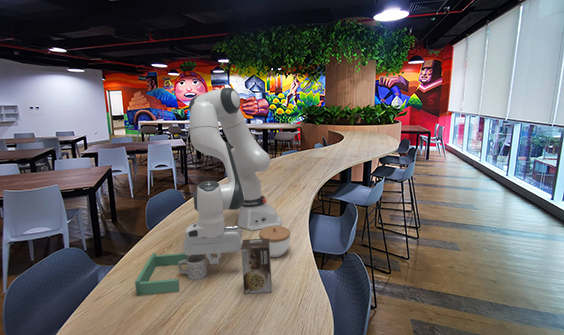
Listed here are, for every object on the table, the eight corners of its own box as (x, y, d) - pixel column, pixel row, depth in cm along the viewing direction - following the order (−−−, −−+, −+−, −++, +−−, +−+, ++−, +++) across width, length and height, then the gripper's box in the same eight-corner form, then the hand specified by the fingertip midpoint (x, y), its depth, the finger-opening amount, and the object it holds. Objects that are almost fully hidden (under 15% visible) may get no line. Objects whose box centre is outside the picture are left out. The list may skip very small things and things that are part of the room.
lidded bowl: (263, 263, 112) (262, 236, 110) (257, 248, 124) (255, 223, 122) (294, 257, 116) (294, 231, 113) (285, 243, 128) (284, 219, 125)
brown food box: (271, 281, 101) (270, 237, 98) (271, 292, 95) (270, 247, 91) (245, 282, 101) (242, 238, 97) (243, 294, 95) (240, 248, 91)
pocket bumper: (189, 262, 114) (187, 250, 113) (178, 291, 97) (177, 277, 95) (154, 264, 113) (152, 253, 112) (136, 295, 95) (134, 281, 94)
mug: (209, 269, 109) (207, 253, 108) (204, 280, 102) (202, 263, 101) (182, 269, 109) (180, 253, 108) (175, 280, 103) (173, 263, 101)
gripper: (241, 222, 107) (243, 256, 110) (184, 225, 105) (187, 260, 108) (241, 229, 101) (243, 265, 104) (180, 233, 99) (184, 270, 102)
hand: (214, 263), depth 106 cm, fingers closed
